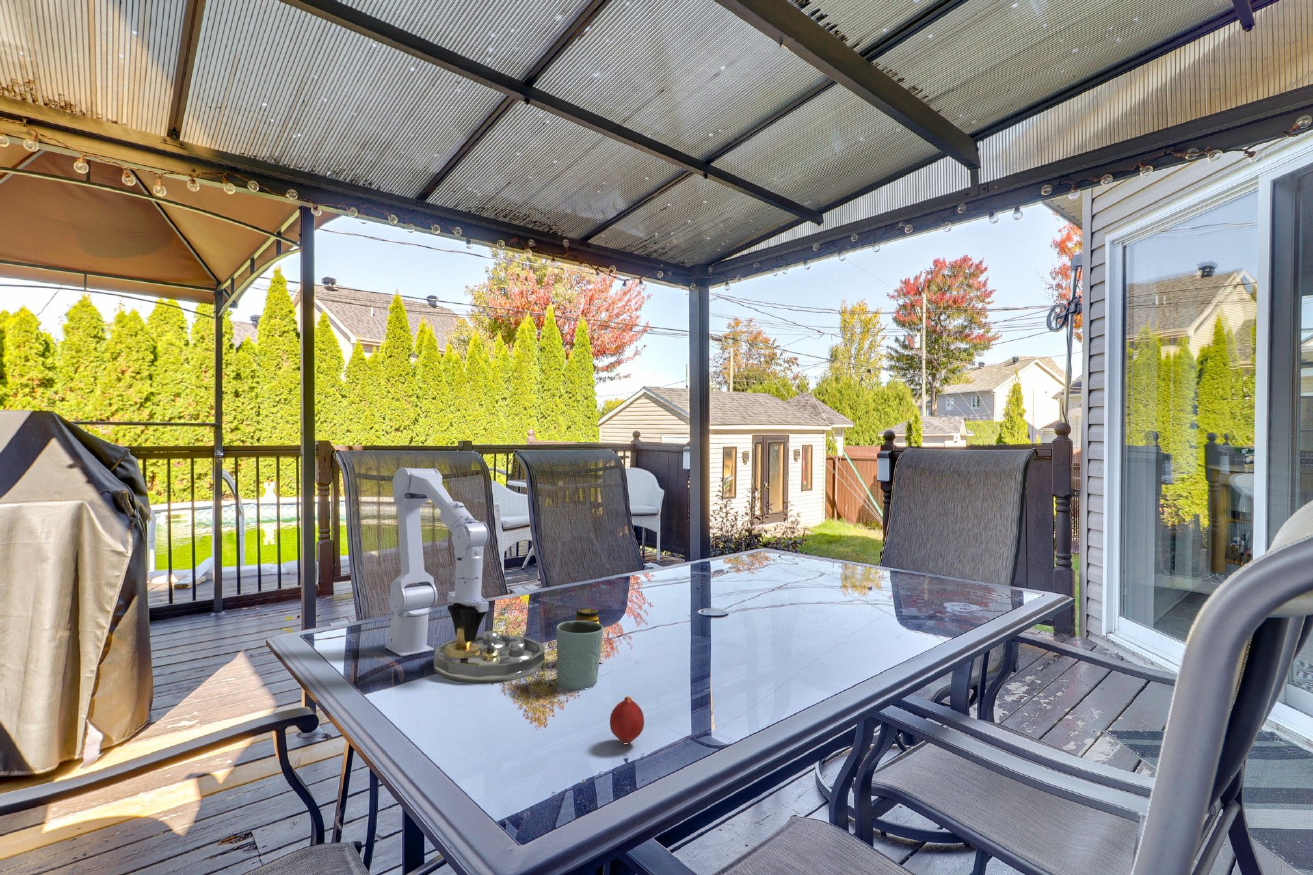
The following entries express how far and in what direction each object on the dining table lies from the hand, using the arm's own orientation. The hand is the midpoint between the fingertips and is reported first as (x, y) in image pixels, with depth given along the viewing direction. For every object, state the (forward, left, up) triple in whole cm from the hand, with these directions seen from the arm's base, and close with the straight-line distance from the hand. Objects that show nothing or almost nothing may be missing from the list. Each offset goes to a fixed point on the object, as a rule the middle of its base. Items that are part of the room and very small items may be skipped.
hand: (465, 638), depth 138 cm
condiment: (+11, +24, -7) cm, 28 cm away
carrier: (0, +6, -7) cm, 9 cm away
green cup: (+22, +14, -7) cm, 27 cm away
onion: (+50, +2, -7) cm, 50 cm away
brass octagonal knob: (0, -1, -3) cm, 3 cm away
